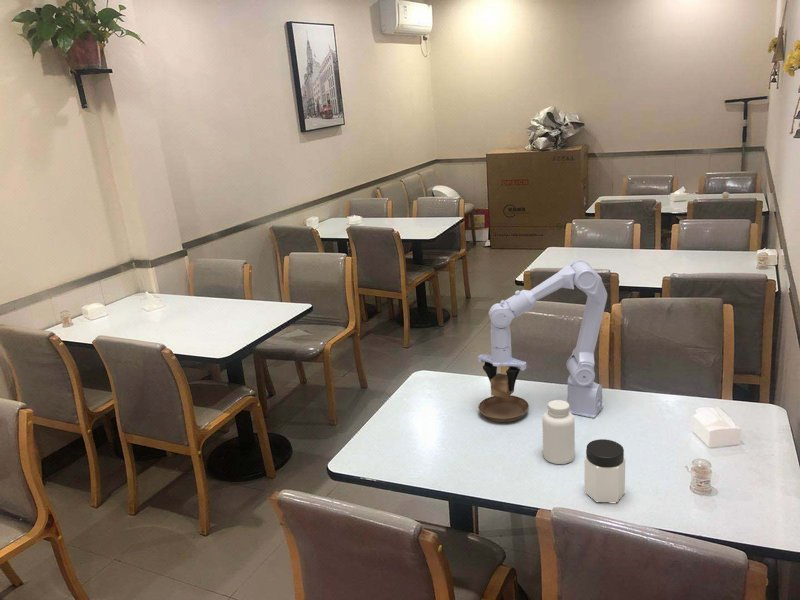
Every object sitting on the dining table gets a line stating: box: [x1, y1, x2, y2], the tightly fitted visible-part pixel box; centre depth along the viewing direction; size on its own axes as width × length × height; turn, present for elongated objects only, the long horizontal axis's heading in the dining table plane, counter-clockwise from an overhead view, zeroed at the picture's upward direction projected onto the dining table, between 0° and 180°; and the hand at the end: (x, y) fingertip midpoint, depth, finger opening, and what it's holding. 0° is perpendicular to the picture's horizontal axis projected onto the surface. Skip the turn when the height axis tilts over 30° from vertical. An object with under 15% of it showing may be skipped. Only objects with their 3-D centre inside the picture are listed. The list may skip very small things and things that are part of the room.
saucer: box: [478, 394, 530, 423], centre depth 187 cm, size 15×15×3 cm
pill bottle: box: [541, 399, 576, 465], centre depth 161 cm, size 8×8×15 cm
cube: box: [489, 372, 515, 398], centre depth 185 cm, size 5×5×5 cm
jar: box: [583, 438, 626, 503], centre depth 145 cm, size 9×8×12 cm
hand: (502, 388), depth 185 cm, fingers closed on cube, 5 cm apart
